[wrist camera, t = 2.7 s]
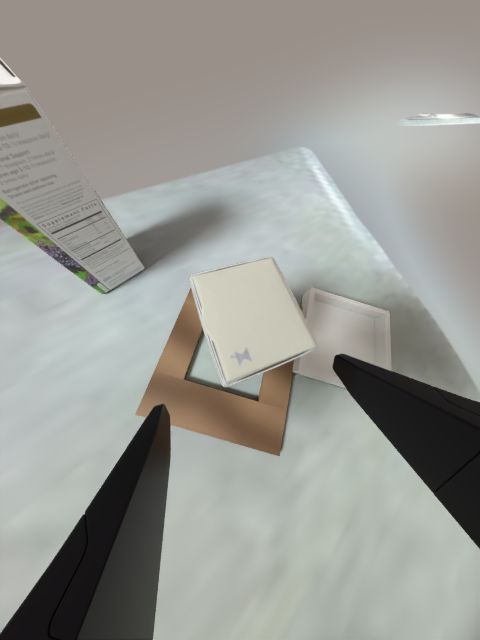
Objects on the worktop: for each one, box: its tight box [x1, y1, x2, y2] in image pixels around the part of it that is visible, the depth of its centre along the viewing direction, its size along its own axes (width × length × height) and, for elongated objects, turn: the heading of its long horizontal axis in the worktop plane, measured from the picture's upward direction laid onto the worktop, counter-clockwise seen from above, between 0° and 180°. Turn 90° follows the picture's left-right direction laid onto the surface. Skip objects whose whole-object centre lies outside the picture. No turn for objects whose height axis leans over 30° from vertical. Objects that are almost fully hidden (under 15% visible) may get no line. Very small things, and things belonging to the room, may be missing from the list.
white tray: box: [292, 287, 392, 388], centre depth 20 cm, size 10×10×2 cm
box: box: [189, 256, 317, 387], centre depth 13 cm, size 5×4×13 cm
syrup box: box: [0, 58, 145, 294], centre depth 14 cm, size 6×6×14 cm
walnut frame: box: [136, 289, 303, 456], centre depth 19 cm, size 16×14×1 cm
